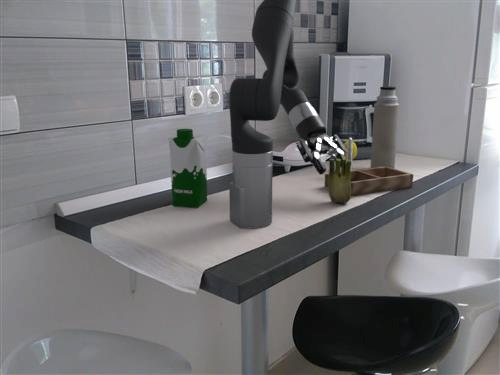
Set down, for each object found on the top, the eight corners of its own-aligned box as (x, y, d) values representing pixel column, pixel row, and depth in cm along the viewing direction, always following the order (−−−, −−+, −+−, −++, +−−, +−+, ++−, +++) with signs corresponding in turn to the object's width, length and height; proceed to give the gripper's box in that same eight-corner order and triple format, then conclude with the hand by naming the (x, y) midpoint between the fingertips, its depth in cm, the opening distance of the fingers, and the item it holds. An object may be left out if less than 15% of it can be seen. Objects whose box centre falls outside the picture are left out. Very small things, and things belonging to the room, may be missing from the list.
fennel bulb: (325, 201, 134) (326, 157, 131) (338, 198, 137) (340, 155, 134) (340, 206, 129) (342, 161, 126) (353, 203, 132) (356, 159, 129)
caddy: (349, 197, 138) (350, 183, 137) (324, 186, 148) (325, 173, 147) (412, 187, 148) (413, 174, 147) (384, 178, 158) (385, 166, 157)
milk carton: (168, 207, 129) (164, 130, 124) (181, 197, 138) (179, 125, 133) (199, 209, 127) (197, 131, 122) (211, 200, 135) (210, 126, 130)
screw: (351, 180, 156) (337, 177, 159) (359, 177, 160) (345, 175, 163) (353, 139, 153) (339, 137, 156) (361, 137, 156) (347, 135, 159)
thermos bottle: (374, 166, 175) (379, 85, 168) (397, 168, 171) (403, 86, 164) (366, 170, 169) (372, 86, 161) (390, 173, 165) (396, 87, 157)
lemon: (355, 160, 185) (356, 138, 183) (357, 163, 180) (358, 141, 178) (340, 159, 186) (341, 138, 184) (341, 163, 181) (342, 141, 178)
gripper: (294, 116, 132) (323, 166, 126) (332, 112, 140) (361, 159, 134) (281, 133, 137) (308, 182, 131) (318, 128, 145) (345, 174, 139)
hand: (335, 170), depth 132 cm, fingers open, 8 cm apart
